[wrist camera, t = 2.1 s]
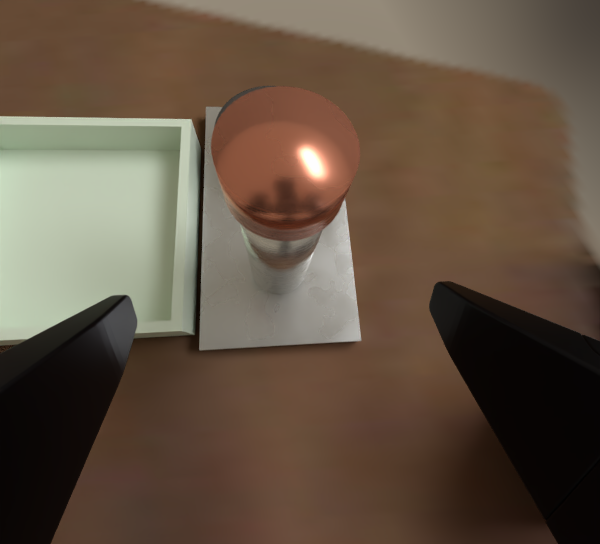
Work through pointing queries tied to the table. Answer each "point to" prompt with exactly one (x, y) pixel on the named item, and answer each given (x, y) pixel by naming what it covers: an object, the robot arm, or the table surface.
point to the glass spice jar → (283, 176)
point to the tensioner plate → (254, 300)
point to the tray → (98, 221)
